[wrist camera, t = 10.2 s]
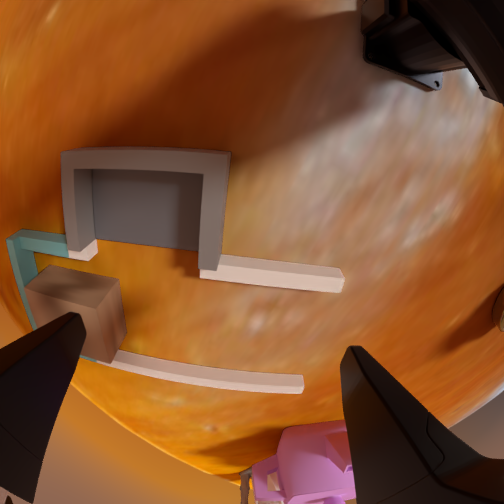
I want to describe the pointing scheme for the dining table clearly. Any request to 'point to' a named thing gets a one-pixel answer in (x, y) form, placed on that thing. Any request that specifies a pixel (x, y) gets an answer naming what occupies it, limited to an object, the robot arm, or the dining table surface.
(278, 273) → the walled track with bay
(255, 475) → the teakettle
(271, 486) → the skyscraper
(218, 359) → the dining table surface
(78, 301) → the block
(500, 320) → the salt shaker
